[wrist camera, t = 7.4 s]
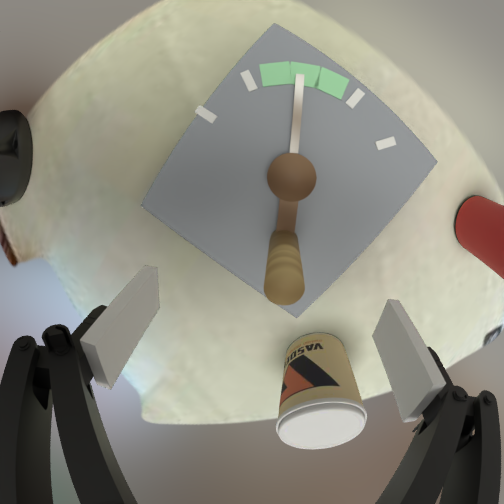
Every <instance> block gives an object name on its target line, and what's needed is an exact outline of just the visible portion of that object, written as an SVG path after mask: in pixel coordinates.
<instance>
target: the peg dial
mask: <svg viewBox="0 0 504 504" xmlns="http://www.w3.org/2000/svg"><path fill="white" fill-rule="evenodd" d="M303 90H304V74H296V78H295V92H294V105H293V117H292V129H291V141H290V152H289V153H285V154H282V155H280V156H278V157H277V158H275V159H274V160H273V162H272V163H271V165H270V167H269V169H268V172H267V182H268V185H269V188H270V190H271V191H272V192H273V194H274V195H275V196H277V197H278V198H280V199H279V209H278V218H277V228H276V230H275V231H274V232H273V233H272V234H271V236H270V241H269V249H268V257H267V264H266V272H265V279H264V293H265V295H266V297H267V298H268V299H269V300H270V301H271V302H273V303H275V304H277V305H284V306H285V305H291V304H294V303H296V302H297V301H298V300H300V299H301V297H302V296H303V294H304V291H305V283H304V276H303V269H302V262H301V256H300V249H299V243H298V237H297V235H296V233H295V225H296V217H297V209H298V201H300V200H303V199H305V198H306V197H308V196H309V195H310V194H311V193H312V191H313V190H314V188H315V185H316V179H317V177H316V171H315V168H314V166H313V165H312V163H311V162H310V161H309V160H308V159H307V158H305V157H304V156H302V155H300V154H298V150H299V139H300V128H301V116H302V103H303Z"/></svg>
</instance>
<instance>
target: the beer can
mask: <svg viewBox="0 0 504 504" xmlns="http://www.w3.org/2000/svg"><path fill="white" fill-rule="evenodd" d="M455 227H456V235H457V238H458V241H459V243H460V244H461V245H462V246H463V247H464V248H465V249H466V250H468V251H469V252H470V253H472V254H473V255H474V256H476V257H477V258H478V259H480V260H481V261H482V262H483V263H485V264H486V265H487V266H488V267H490V268H491V269H492V270H493V271H495V272H496V273H497V274H498V275H499V276H501V277H502V278H503V279H504V206H503V205H500V204H498V203H496V202H493V201H491V200H489V199H486V198H484V197H481V196H474V197H471V198H469V199H468V200H467V201H465V202H464V203H463V205H462V207H461V208H460V210H459V212H458V215H457V218H456V226H455Z"/></svg>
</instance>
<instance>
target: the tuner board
mask: <svg viewBox="0 0 504 504" xmlns="http://www.w3.org/2000/svg"><path fill="white" fill-rule="evenodd" d="M296 74H304V90H303V103H302V116H301V128H300V139H299V150H298V154H300V155H302V156H304V157H305V158H307V159H308V160H309V161H310V162H311V163H312V165H313V166H314V168H315V171H316V177H317V179H316V185H315V188H314V190H313V191H312V193H311V194H310V195H309V196H308V197H306V198H305V199H303V200H300V201H298V209H297V217H296V225H295V233H296V235H297V237H298V243H299V249H300V256H301V262H302V269H303V276H304V283H305V291H304V294H303V296H302V297H301V299H300V300H298V301H297V302H296V303H294V304H291V305H285V306H284V305H278V306H280V307H281V308H283V309H284V310H286V311H287V312H288V313H290V314H291V315H293V316H294V317H296V318H297V317H299V316H300V315H301V314H302V313H303V312H304V311H305V310H306V309H307V308H308V307H309V306H310V305H311V304H312V303H313V302H314V301H315V300H316V299H317V298H318V297H319V296H320V295H321V294H322V293H323V292H324V291H326V290H327V289H328V288H329V287H330V286H331V285H332V283H333V282H334V281H335V280H336V279H337V278H338V277H339V276H340V275H341V274H342V273H343V272H344V271H345V270H346V269H347V268H348V267H349V266H350V265H351V264H352V263H353V262H354V261H355V260H356V259H357V258H358V256H359V255H360V254H361V253H362V252H363V251H364V250H365V249H366V248H367V247H368V246H369V245H370V243H371V242H372V241H373V240H374V239H375V238H376V237H377V236H378V235H379V233H380V232H381V231H382V230H383V229H384V228H385V227H386V225H387V224H388V223H389V222H390V221H391V220H392V218H393V217H394V216H395V215H396V214H397V213H398V211H399V210H400V209H401V208H402V207H403V205H404V204H405V203H406V202H407V201H408V199H409V198H410V197H411V196H412V194H413V193H414V192H415V191H416V189H417V188H418V187H419V186H420V184H421V183H422V182H423V181H424V179H425V178H426V177H427V175H428V174H429V173H430V171H431V170H432V169H433V168H434V166H435V165H436V164H437V160H436V159H435V158H434V157H433V155H432V154H431V153H430V152H429V150H428V149H427V148H426V147H425V146H424V145H423V143H422V142H421V141H420V140H419V139H418V138H417V137H416V135H415V134H414V133H413V132H412V131H411V130H410V129H409V128H408V127H407V126H406V125H405V124H404V123H403V121H402V120H401V119H400V118H399V117H398V116H397V115H396V114H395V113H394V112H393V111H392V110H391V109H390V108H389V107H388V106H387V105H385V104H384V103H383V102H382V101H381V100H380V99H379V98H378V97H377V96H376V95H375V94H374V93H372V92H371V91H370V90H369V89H368V88H367V87H366V86H364V85H363V84H362V83H361V82H360V81H359V80H357V79H356V78H355V77H354V76H352V75H351V74H350V73H349V72H347V71H346V70H345V69H344V68H342V67H341V66H340V65H338V64H337V63H336V62H334V61H333V60H332V59H330V58H329V57H328V56H326V55H325V54H323V53H322V52H321V51H319V50H318V49H316V48H315V47H313V46H312V45H310V44H309V43H307V42H306V41H304V40H302V39H301V38H299V37H298V36H296V35H294V34H293V33H291V32H289V31H288V30H286V29H284V28H283V27H281V26H279V25H277V24H275V23H274V24H273V25H272V26H271V27H270V28H269V29H268V30H267V31H266V32H265V33H264V34H263V35H262V36H261V37H260V38H259V39H258V40H257V41H256V42H255V43H254V45H253V46H252V47H251V48H250V49H249V50H248V51H247V52H246V54H245V55H244V56H243V57H242V58H241V59H240V60H239V62H238V63H237V64H236V65H235V66H234V67H233V69H232V70H231V71H230V72H229V74H228V75H227V76H226V77H225V78H224V80H223V81H222V82H221V83H220V85H219V86H218V87H217V89H216V90H215V91H214V92H213V94H212V95H211V96H210V98H209V99H208V100H207V102H206V103H205V104H204V106H203V107H202V106H201V105H199V106H198V108H197V109H196V110H195V113H197V115H196V117H195V118H194V120H193V121H192V123H191V124H190V125H189V127H188V128H187V130H186V131H185V133H184V134H183V136H182V137H181V139H180V140H179V142H178V143H177V145H176V146H175V148H174V150H173V151H172V153H171V154H170V156H169V157H168V159H167V161H166V162H165V164H164V166H163V167H162V169H161V171H160V172H159V174H158V176H157V177H156V179H155V181H154V182H153V184H152V186H151V188H150V189H149V191H148V193H147V195H146V197H145V198H144V200H143V202H142V204H141V206H142V207H143V208H144V209H146V210H147V211H148V212H150V213H151V214H152V215H154V216H155V217H156V218H158V219H159V220H160V221H161V222H163V223H164V224H165V225H167V226H168V227H169V228H171V229H172V230H174V231H175V232H176V233H178V234H179V235H180V236H182V237H183V238H184V239H186V240H187V241H188V242H190V243H191V244H192V245H194V246H195V247H197V248H198V249H199V250H201V251H202V252H203V253H205V254H206V255H208V256H209V257H210V258H212V259H213V260H214V261H216V262H217V263H219V264H220V265H221V266H223V267H224V268H226V269H227V270H228V271H230V272H231V273H233V274H234V275H235V276H237V277H238V278H240V279H241V280H242V281H244V282H245V283H247V284H248V285H249V286H251V287H252V288H254V289H255V290H257V291H258V292H259V293H261V294H262V295H264V296H265V297H266V295H265V293H264V279H265V272H266V264H267V257H268V249H269V241H270V236H271V234H272V233H273V232H274V231H275V230H276V228H277V218H278V209H279V199H280V198H278V197H277V196H275V195H274V194H273V192H272V191H271V190H270V188H269V185H268V182H267V172H268V169H269V167H270V165H271V163H272V162H273V160H274V159H275V158H277V157H278V156H280V155H282V154H285V153H289V152H290V141H291V129H292V117H293V105H294V92H295V78H296Z"/></svg>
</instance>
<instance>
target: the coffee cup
mask: <svg viewBox="0 0 504 504" xmlns="http://www.w3.org/2000/svg"><path fill="white" fill-rule="evenodd" d="M366 420H367V413H366V410H365V408H364V406H363V403H362V400H361V396H360V393H359V390H358V387H357V384H356V380H355V377H354V374H353V371H352V368H351V365H350V362H349V360H348V357H347V354H346V351H345V349H344V346H343V344H342V343H341V341H340V340H339V339H338V338H336V337H335V336H332V335H330V334H326V333H312V334H308V335H305V336H302V337H300V338H298V339H297V340H295V341H294V342H293V343H292V344H291V345H290V347H289V348H288V350H287V353H286V359H285V366H284V374H283V382H282V390H281V398H280V406H279V415H278V419H277V422H276V431H277V433H278V435H279V437H280V439H281V440H282V441H283V442H285V443H286V444H288V445H290V446H293V447H297V448H302V449H323V448H329V447H333V446H337V445H340V444H343V443H345V442H347V441H349V440H351V439H353V438H354V437H356V436H357V435H358V434H359V433H360V432H361V431H362V430H363V428H364V426H365V422H366Z"/></svg>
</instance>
